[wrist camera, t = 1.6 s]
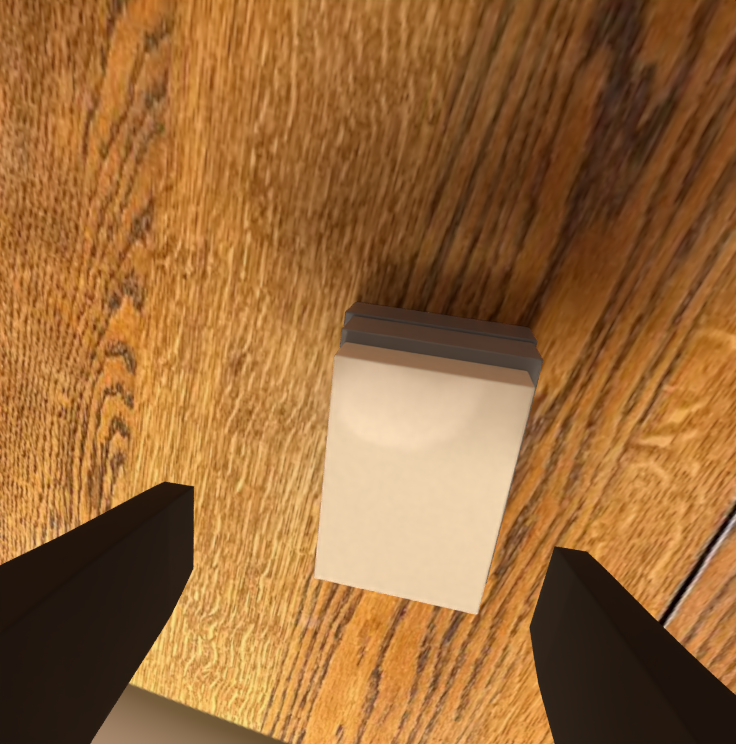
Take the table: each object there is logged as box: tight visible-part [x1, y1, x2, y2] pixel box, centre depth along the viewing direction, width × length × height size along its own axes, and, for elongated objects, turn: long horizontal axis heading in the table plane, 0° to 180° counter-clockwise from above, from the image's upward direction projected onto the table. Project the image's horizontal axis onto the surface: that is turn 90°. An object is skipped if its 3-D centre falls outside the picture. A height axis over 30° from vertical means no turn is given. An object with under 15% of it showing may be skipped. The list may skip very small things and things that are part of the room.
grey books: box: [340, 302, 543, 585], centre depth 17 cm, size 9×6×4 cm
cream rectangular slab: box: [314, 342, 535, 614], centre depth 15 cm, size 8×6×1 cm
